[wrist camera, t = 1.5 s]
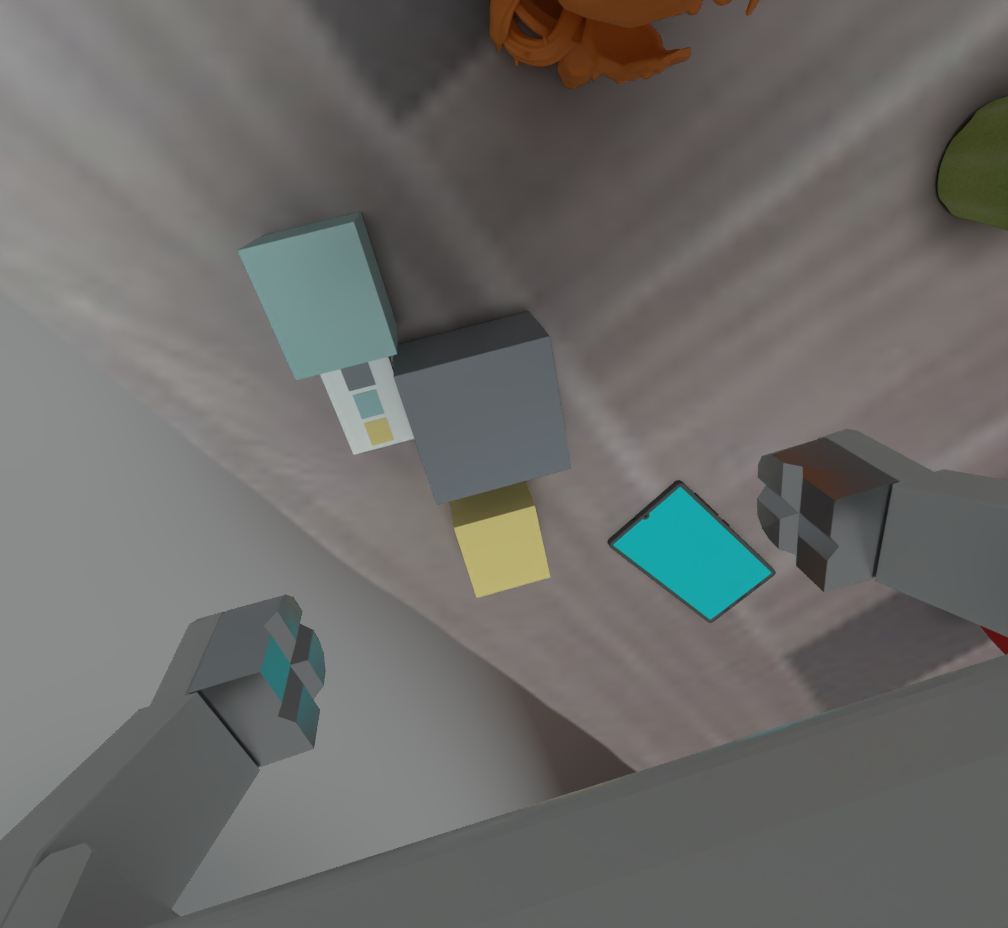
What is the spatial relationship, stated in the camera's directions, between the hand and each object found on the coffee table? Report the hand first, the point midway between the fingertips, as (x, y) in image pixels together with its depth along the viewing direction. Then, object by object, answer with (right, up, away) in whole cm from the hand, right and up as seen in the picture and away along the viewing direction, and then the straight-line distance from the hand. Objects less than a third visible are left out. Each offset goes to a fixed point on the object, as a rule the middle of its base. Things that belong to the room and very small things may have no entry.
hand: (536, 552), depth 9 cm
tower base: (-2, +6, +23) cm, 24 cm away
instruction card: (-9, +5, +23) cm, 25 cm away
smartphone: (+15, -6, +34) cm, 38 cm away
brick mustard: (-1, -2, +28) cm, 28 cm away
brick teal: (-10, +11, +19) cm, 24 cm away
